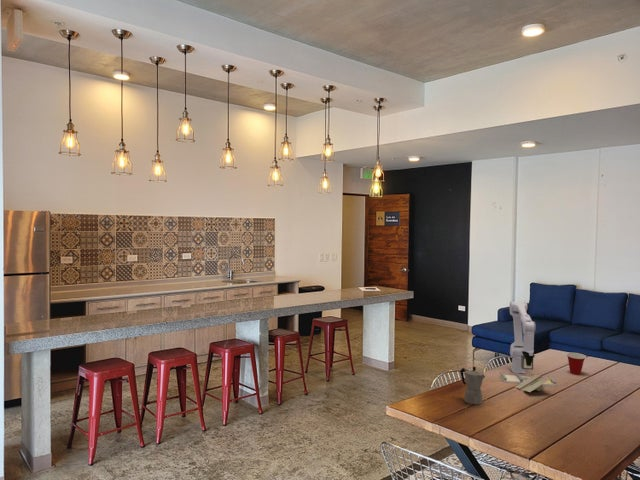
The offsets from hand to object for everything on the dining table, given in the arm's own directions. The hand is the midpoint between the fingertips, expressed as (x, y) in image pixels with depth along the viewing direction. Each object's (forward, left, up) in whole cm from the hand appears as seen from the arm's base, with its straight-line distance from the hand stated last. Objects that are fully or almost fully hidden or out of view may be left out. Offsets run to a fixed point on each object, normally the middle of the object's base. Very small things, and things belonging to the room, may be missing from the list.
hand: (527, 364), depth 285 cm
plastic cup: (-24, +34, -10) cm, 43 cm away
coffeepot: (+43, -37, -10) cm, 58 cm away
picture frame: (0, 0, -2) cm, 2 cm away
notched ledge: (0, 0, -10) cm, 10 cm away
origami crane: (+18, -2, -10) cm, 21 cm away
